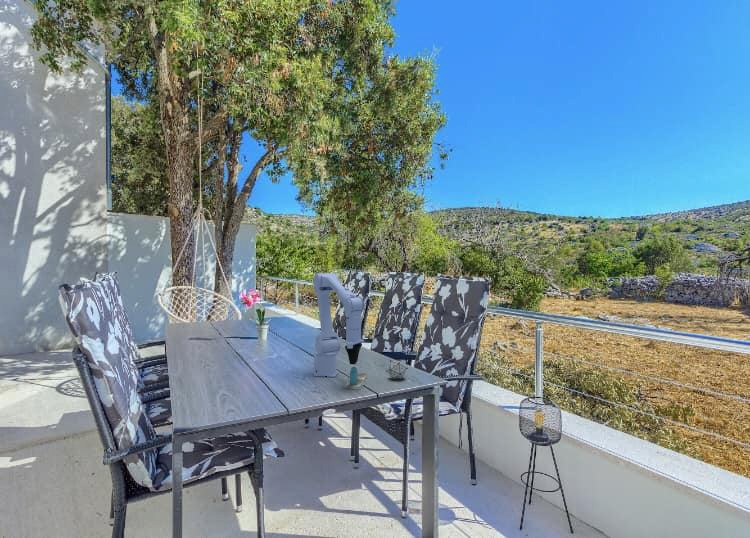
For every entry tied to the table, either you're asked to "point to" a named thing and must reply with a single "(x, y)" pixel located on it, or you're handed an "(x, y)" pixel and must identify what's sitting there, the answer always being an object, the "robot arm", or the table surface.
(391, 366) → the game die
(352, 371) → the pawn
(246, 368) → the table surface
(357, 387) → the board
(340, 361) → the table surface
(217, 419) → the table surface
